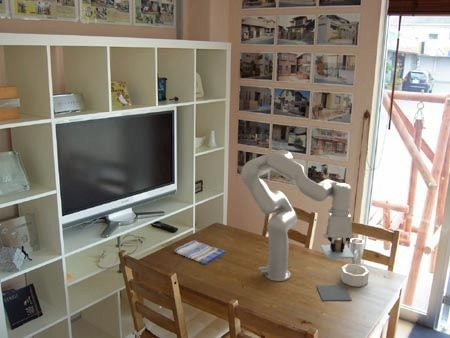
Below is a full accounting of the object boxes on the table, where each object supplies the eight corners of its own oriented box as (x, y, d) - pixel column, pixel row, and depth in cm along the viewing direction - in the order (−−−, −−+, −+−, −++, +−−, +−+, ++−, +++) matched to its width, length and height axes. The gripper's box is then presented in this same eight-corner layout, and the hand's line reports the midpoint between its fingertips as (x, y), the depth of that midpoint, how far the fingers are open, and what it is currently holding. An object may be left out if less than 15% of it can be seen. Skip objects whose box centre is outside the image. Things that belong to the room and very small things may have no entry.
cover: (326, 258, 201) (327, 245, 199) (320, 246, 212) (321, 234, 211) (354, 258, 201) (355, 245, 200) (346, 246, 213) (347, 234, 211)
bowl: (345, 287, 217) (346, 275, 215) (338, 275, 228) (339, 264, 226) (369, 287, 217) (371, 275, 215) (362, 275, 228) (363, 264, 227)
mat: (322, 300, 205) (322, 299, 205) (316, 285, 218) (316, 285, 218) (351, 300, 206) (351, 299, 205) (344, 285, 218) (344, 285, 218)
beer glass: (362, 272, 231) (364, 244, 227) (347, 270, 233) (350, 243, 229) (361, 265, 238) (363, 238, 234) (347, 264, 239) (349, 237, 235)
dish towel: (194, 243, 265) (194, 238, 264) (226, 254, 251) (226, 250, 250) (172, 253, 252) (172, 248, 251) (205, 266, 238) (205, 261, 237)
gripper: (323, 214, 198) (320, 254, 203) (361, 214, 198) (357, 254, 203) (319, 208, 205) (316, 247, 210) (356, 208, 206) (352, 246, 211)
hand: (337, 250), depth 207 cm, fingers closed on cover, 3 cm apart
